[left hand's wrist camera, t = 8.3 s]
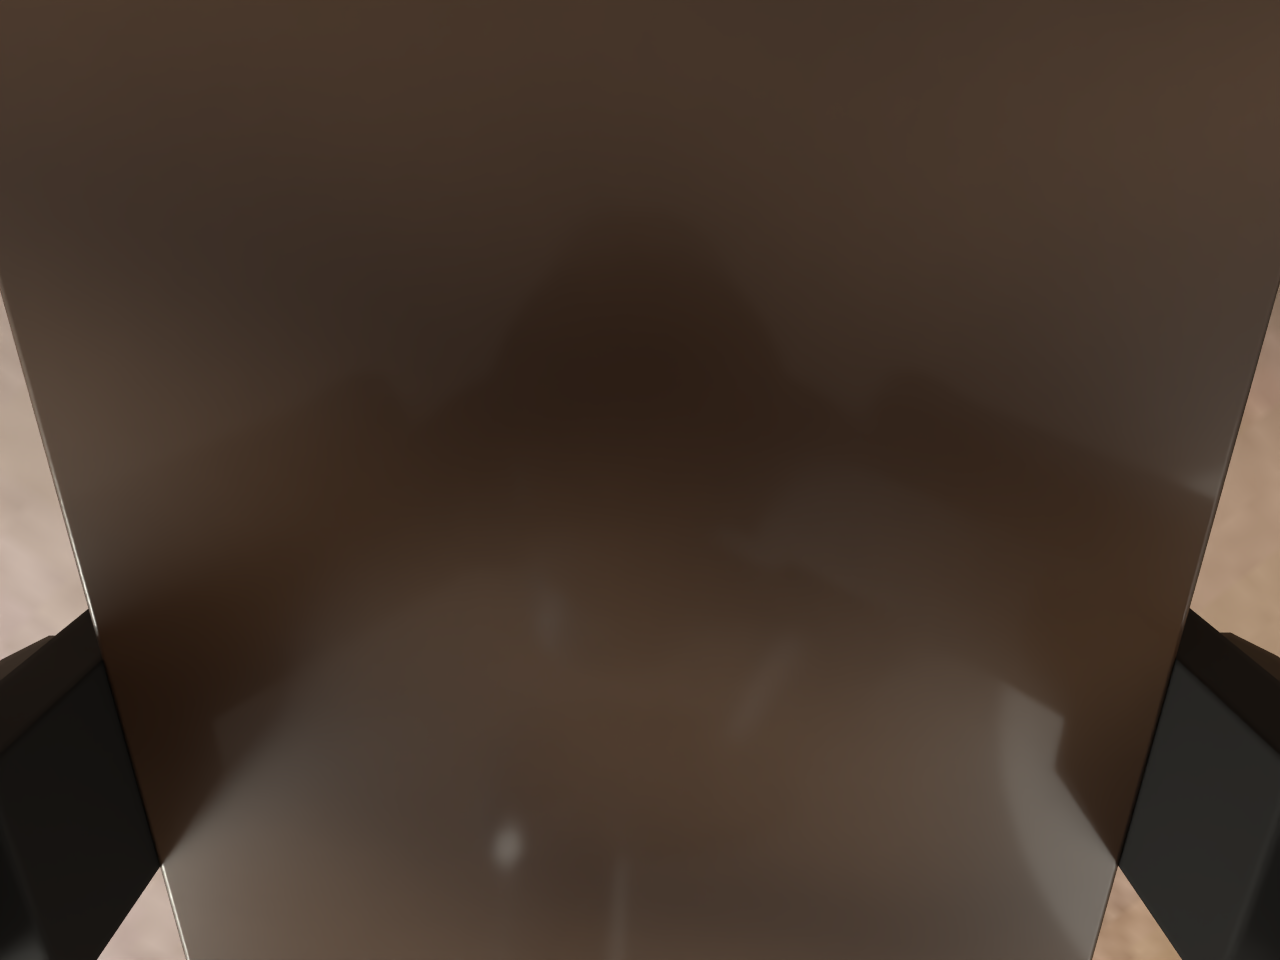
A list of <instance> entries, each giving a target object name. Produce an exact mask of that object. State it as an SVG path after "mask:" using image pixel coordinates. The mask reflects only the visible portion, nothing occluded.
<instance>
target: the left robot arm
mask: <svg viewBox="0 0 1280 960" xmlns="http://www.w3.org/2000/svg"><path fill="white" fill-rule="evenodd" d="M1118 866H1119V867H1120V869H1121V870H1122V872H1123V873H1124V875H1125V876H1126V878H1127V879H1128V881H1129V882H1130V884H1131V885H1132V886H1133V888H1134V889H1135V891H1136V892H1137V894H1138V895H1139V897H1140V898H1141V900H1142V901H1143V903H1144V904H1145V906H1146V907H1147V909H1148V910H1149V911H1150V913H1151V914H1152V916H1153V917H1154V919H1155V920H1156V922H1157V923H1158V925H1159V926H1160V928H1161V929H1162V931H1163V932H1164V934H1165V935H1166V937H1167V938H1168V939H1169V941H1170V942H1171V944H1172V945H1173V947H1174V948H1175V950H1176V951H1177V953H1178V954H1179V956H1180V957H1181V959H1182V960H1280V658H1279V657H1278V656H1276V655H1274V654H1272V653H1270V652H1268V651H1266V650H1264V649H1262V648H1260V647H1258V646H1256V645H1254V644H1252V643H1250V642H1248V641H1246V640H1244V639H1242V638H1240V637H1238V636H1236V635H1234V634H1232V633H1220V632H1218V631H1217V630H1216V629H1215V628H1213V627H1212V626H1211V625H1210V624H1209V623H1207V622H1206V621H1205V620H1204V619H1202V618H1201V617H1200V616H1199V615H1197V614H1196V613H1195V612H1194V611H1193V610H1191V609H1190V608H1189V612H1188V615H1187V619H1186V622H1185V626H1184V630H1183V633H1182V637H1181V640H1180V644H1179V648H1178V651H1177V655H1176V658H1175V662H1174V666H1173V669H1172V673H1171V676H1170V680H1169V684H1168V687H1167V691H1166V695H1165V698H1164V702H1163V705H1162V709H1161V713H1160V716H1159V720H1158V723H1157V727H1156V731H1155V734H1154V738H1153V741H1152V745H1151V749H1150V752H1149V756H1148V759H1147V763H1146V767H1145V770H1144V774H1143V777H1142V781H1141V785H1140V788H1139V792H1138V795H1137V799H1136V803H1135V806H1134V810H1133V814H1132V817H1131V821H1130V824H1129V828H1128V832H1127V835H1126V839H1125V842H1124V846H1123V850H1122V853H1121V857H1120V860H1119V864H1118ZM159 867H160V864H159V860H158V857H157V853H156V850H155V846H154V842H153V839H152V835H151V832H150V828H149V824H148V821H147V817H146V814H145V810H144V806H143V803H142V799H141V796H140V792H139V788H138V785H137V781H136V778H135V774H134V770H133V767H132V763H131V760H130V756H129V752H128V749H127V745H126V741H125V738H124V734H123V731H122V727H121V723H120V720H119V716H118V713H117V709H116V705H115V702H114V698H113V695H112V691H111V687H110V684H109V680H108V677H107V673H106V669H105V666H104V662H103V659H102V655H101V651H100V648H99V644H98V641H97V637H96V633H95V630H94V626H93V623H92V619H91V615H90V612H89V609H88V610H86V611H85V612H84V613H83V614H81V615H80V616H79V617H78V618H76V619H75V620H74V621H73V622H72V623H70V624H69V625H68V626H67V627H65V628H64V629H63V630H62V631H61V632H59V633H58V634H57V635H56V636H48V637H46V638H44V639H42V640H40V641H38V642H36V643H34V644H32V645H30V646H28V647H26V648H24V649H22V650H20V651H18V652H16V653H14V654H12V655H10V656H8V657H6V658H4V659H2V660H1V661H0V960H97V959H98V957H99V956H100V954H101V953H102V951H103V950H104V948H105V947H106V945H107V944H108V942H109V941H110V939H111V938H112V937H113V935H114V934H115V932H116V931H117V929H118V928H119V926H120V925H121V923H122V922H123V920H124V919H125V917H126V916H127V914H128V913H129V912H130V910H131V909H132V907H133V906H134V904H135V903H136V901H137V900H138V898H139V897H140V895H141V894H142V892H143V891H144V889H145V888H146V886H147V885H148V884H149V882H150V881H151V879H152V878H153V876H154V875H155V873H156V872H157V870H158V869H159Z"/></svg>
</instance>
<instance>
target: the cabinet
mask: <svg viewBox="0 0 1280 960" xmlns="http://www.w3.org/2000/svg"><path fill="white" fill-rule="evenodd" d="M1279 283H1280V0H0V291H1V295H2V298H3V302H4V306H5V309H6V313H7V316H8V320H9V324H10V327H11V331H12V334H13V338H14V342H15V345H16V349H17V352H18V356H19V360H20V363H21V367H22V370H23V374H24V378H25V381H26V385H27V388H28V392H29V396H30V399H31V403H32V406H33V410H34V414H35V417H36V421H37V424H38V428H39V432H40V435H41V439H42V442H43V446H44V450H45V453H46V457H47V460H48V464H49V468H50V471H51V475H52V478H53V482H54V486H55V489H56V493H57V496H58V500H59V504H60V507H61V511H62V515H63V518H64V522H65V525H66V529H67V533H68V536H69V540H70V543H71V547H72V551H73V554H74V558H75V561H76V565H77V569H78V572H79V576H80V579H81V583H82V587H83V590H84V594H85V597H86V601H87V605H88V608H89V612H90V615H91V619H92V623H93V626H94V630H95V633H96V637H97V641H98V644H99V648H100V651H101V655H102V659H103V662H104V666H105V669H106V673H107V677H108V680H109V684H110V687H111V691H112V695H113V698H114V702H115V705H116V709H117V713H118V716H119V720H120V723H121V727H122V731H123V734H124V738H125V741H126V745H127V749H128V752H129V756H130V760H131V763H132V767H133V770H134V774H135V778H136V781H137V785H138V788H139V792H140V796H141V799H142V803H143V806H144V810H145V814H146V817H147V821H148V824H149V828H150V832H151V835H152V839H153V842H154V846H155V850H156V853H157V857H158V860H159V864H160V868H161V871H162V875H163V878H164V882H165V886H166V889H167V893H168V896H169V900H170V904H171V907H172V911H173V914H174V918H175V922H176V925H177V929H178V932H179V936H180V940H181V943H182V947H183V950H184V954H185V958H186V960H1092V958H1093V954H1094V951H1095V947H1096V943H1097V940H1098V936H1099V933H1100V929H1101V925H1102V922H1103V918H1104V914H1105V911H1106V907H1107V904H1108V900H1109V896H1110V893H1111V889H1112V886H1113V882H1114V878H1115V875H1116V871H1117V868H1118V864H1119V860H1120V857H1121V853H1122V850H1123V846H1124V842H1125V839H1126V835H1127V832H1128V828H1129V824H1130V821H1131V817H1132V814H1133V810H1134V806H1135V803H1136V799H1137V795H1138V792H1139V788H1140V785H1141V781H1142V777H1143V774H1144V770H1145V767H1146V763H1147V759H1148V756H1149V752H1150V749H1151V745H1152V741H1153V738H1154V734H1155V731H1156V727H1157V723H1158V720H1159V716H1160V713H1161V709H1162V705H1163V702H1164V698H1165V695H1166V691H1167V687H1168V684H1169V680H1170V676H1171V673H1172V669H1173V666H1174V662H1175V658H1176V655H1177V651H1178V648H1179V644H1180V640H1181V637H1182V633H1183V630H1184V626H1185V622H1186V619H1187V615H1188V612H1189V608H1190V604H1191V601H1192V597H1193V594H1194V590H1195V586H1196V583H1197V579H1198V576H1199V572H1200V568H1201V565H1202V561H1203V557H1204V554H1205V550H1206V547H1207V543H1208V539H1209V536H1210V532H1211V529H1212V525H1213V521H1214V518H1215V514H1216V511H1217V507H1218V503H1219V500H1220V496H1221V493H1222V489H1223V485H1224V482H1225V478H1226V475H1227V471H1228V467H1229V464H1230V460H1231V457H1232V453H1233V449H1234V446H1235V442H1236V438H1237V435H1238V431H1239V428H1240V424H1241V420H1242V417H1243V413H1244V410H1245V406H1246V402H1247V399H1248V395H1249V392H1250V388H1251V384H1252V381H1253V377H1254V374H1255V370H1256V366H1257V363H1258V359H1259V356H1260V352H1261V348H1262V345H1263V341H1264V338H1265V334H1266V330H1267V327H1268V323H1269V319H1270V316H1271V312H1272V309H1273V305H1274V301H1275V298H1276V294H1277V291H1278V287H1279Z"/></svg>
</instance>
